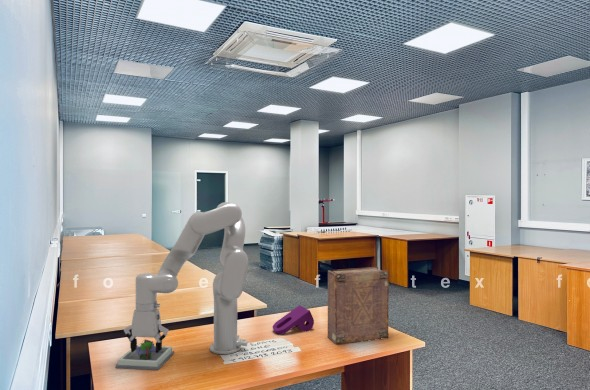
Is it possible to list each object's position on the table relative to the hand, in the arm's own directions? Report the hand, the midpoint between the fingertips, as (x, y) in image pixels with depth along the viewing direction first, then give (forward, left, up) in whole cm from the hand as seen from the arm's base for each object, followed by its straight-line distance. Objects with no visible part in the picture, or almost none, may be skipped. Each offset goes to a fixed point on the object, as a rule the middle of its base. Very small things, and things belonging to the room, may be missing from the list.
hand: (146, 351), depth 154 cm
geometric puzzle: (0, 0, -3) cm, 3 cm away
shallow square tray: (0, 0, -4) cm, 4 cm away
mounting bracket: (-52, -39, -4) cm, 65 cm away
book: (-82, -32, -4) cm, 88 cm away
